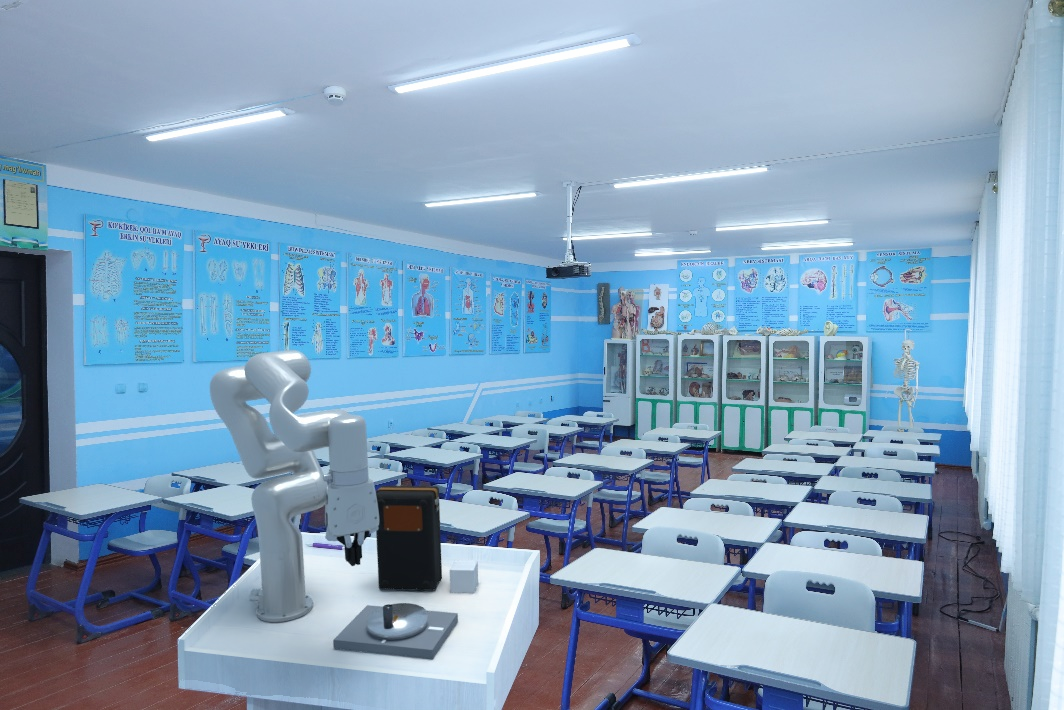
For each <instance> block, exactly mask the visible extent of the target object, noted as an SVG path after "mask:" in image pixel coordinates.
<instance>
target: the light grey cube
mask: <svg viewBox="0 0 1064 710" xmlns="http://www.w3.org/2000/svg"><path fill="white" fill-rule="evenodd" d="M478 567H479V564H478V560H469V559H468V560H466V559H465V560H460V559H459V560H457V559H455V560H453V562H452V564H451V566H450V568H449V589H450V591H449V593H450V594H475V593H476V591H475V590H477V588H478V585H479V568H478ZM476 587H477V588H476Z"/></svg>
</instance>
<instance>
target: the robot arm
mask: <svg viewBox="0 0 1064 710" xmlns="http://www.w3.org/2000/svg"><path fill="white" fill-rule="evenodd" d="M310 363H311V362H310V361H309V358H308V357H307V356H306V355H305V354H304V353H303V352H301V351H300V350H297V349H291V350H290V349H289V350H287V349H286V350H279V351H268V352H261V353H258V354H255V355H253V356H252V357H250V358H249V359H248V360H247V362H245V364H244V365H242V366H241V365H240V366H235V367H228V368H225V369H222V370H219V371H217V372H216V373H215V374H214V375H212V377H211V379H210V383H209V396H210V399H211V400H210V401H211V404H212V407H213V408H214V411H215V412H216V414H217V415H218V417H219V419H220V420H221V421H222V422H223V424H224V426H225V427H226V428H227V429H228V431H229V434H230V435H231V438H232V440H233V443H234V445H235V448H236V450H237V452H238V455H239V458H240V460H241V462H242V465H243V467H244V468H243V469H244V470H245V471H246V473H247V475H248V476H250V478H252V479H256V480H257V479H259V480H260V479H261V480H262V479H265V478H271V477H275V476H279V475H283V476H279V477H275V478H272V479H268V480H266V481H263V482H262V483H260V484H258V485H257V486H256V487H255V488H254V489H253V491H252V493H251V501H250V502H251V505H252V506H251V507H252V509H253V510H252V511H253V515H254V518H255V523H256V528H257V535H258V547H259V549H258V550H259V560H260V563H259V565H260V575H261V588H252V589H251V591H250V595H249V602H257V603H258V606H257V607H256V611H255V612H256V616H257V618H258V619H260V620H261V621H264V622H270V623H280V622H281V623H282V622H288V621H292V620H296V619H298V618H301V617H303V616H305V615H306V614H308V613H309V612H310V611H311V610H312V609H313V607H314V600H313V598H312V597H311V596H309V595H307V594H306V580H305V561H304V547H303V545H304V544H303V534H302V532H301V530H300V529H299V527H298V526H297V525H296V524H294V522H293V520H292V518H294V517H296V516H298V515H302V514H305V513H309V512H310V513H311V512H312V511H316V510H318V509H320V508H322V507H324V525H325V529H326V532H325V536H324V537H325V539H326V541H328V542H339V543H340V544H341V545H343V546H344V559H345V561H346V563H348V564H349V565H350V566H351V567H355V566H356V565H357V566H359V565H361V559H363V547H362V546H363V545H364V543H365V540H366V539H367V538H368V536H369V535H370V534H373V533H376V531H377V530H378V529H379V527H378V525H379V511H378V503H377V497H376V491H377V490H376V488H375V483H374V481H373V479H370V478H369V460H368V458H369V457H368V456H369V455H368V437H367V423H366V419H365V418H364V417H363V415H358V414H352V413H351V414H350V413H349V412H347V411H346V410H344V409H340V408H339V409H337V408H334V409H329V410H322V411H317V412H311V413H304V414H299V415H296V414H295V413H296V412H297V411H298V410H299V409H300V408H301V409H302V407H303V406H304V405H305V403H306V401H307V399H308V396H309V392H310V391H309V390H310V389H309V385H308V384H307V382H308V380H309V379H310V377H311V373H312V371H311V370H312V368H311V364H310ZM263 399H265V400H266V401H267V402H268V403H269V404H270V405H269V412H268V413H269V414H268V418H269V422H270V426H271V428H270V426H269V422H268V421H267V419H266V417H265V416H264V415H263V414H262V413H261V412H259V410H257V409H256V408H254V407H252V406H250V404H247V402H249V401H256V400H263ZM271 429H272V430H271ZM325 448H328V458H329V459H328V461H329V469H328V473H326V474H324V472H323V469H322V467H321V465H320V462H319V460H318V458H317V455H316V453H315V450H319V449H325ZM288 473H292V474H288ZM284 474H287V475H284ZM351 535H353V541H352V538H351Z"/></svg>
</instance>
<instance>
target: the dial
mask: <svg viewBox="0 0 1064 710" xmlns="http://www.w3.org/2000/svg"><path fill="white" fill-rule="evenodd" d="M382 606H383V607H380V608H378V609H376V610H374V611H373V612H371V613H370V614H369V616H368V617H367V631H368V633H369V634H370V635H371V636H373V637H375V638H378V639H383V640H398V639H404V638H408V637H411V636H414V635H416V634H418V633H420V632H421V631H423V630H424V629H425V628H426V626H427V624H428V615H427V611H428V610H427V611H426V608H425V607H423V606H422V605H419V604H416V603H409V602H398V603H397V602H396V603H392V604H390V603H389V604H384V605H382Z"/></svg>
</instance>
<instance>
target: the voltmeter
mask: <svg viewBox="0 0 1064 710" xmlns="http://www.w3.org/2000/svg"><path fill="white" fill-rule="evenodd" d="M375 491H376V497H377V503H378V511H379V525H378V527H379V529H378V530H377V531H375V537H376V552H377V553H376V556H377V575H378V576H377V579H378V588H379V589H380V590H404V591H405V590H406V591H407V590H408V591H409V590H410V591H411V590H413V591H434V590H436V588H437V586H438V585H439V581H440V582H441V581H442V580H443V569H442V568H443V566H442V563H443V562H442V543H441V542H442V540H441V539H442V538H441V517H440V516H441V513H440V510H441V509H440V488H439V487H438V486H436V485H434V486H433V485H432V486H430V485H427V486H425V485H423V486H422V485H420V486H419V485H382V486H380V487H378V489H377V490H375Z"/></svg>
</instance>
